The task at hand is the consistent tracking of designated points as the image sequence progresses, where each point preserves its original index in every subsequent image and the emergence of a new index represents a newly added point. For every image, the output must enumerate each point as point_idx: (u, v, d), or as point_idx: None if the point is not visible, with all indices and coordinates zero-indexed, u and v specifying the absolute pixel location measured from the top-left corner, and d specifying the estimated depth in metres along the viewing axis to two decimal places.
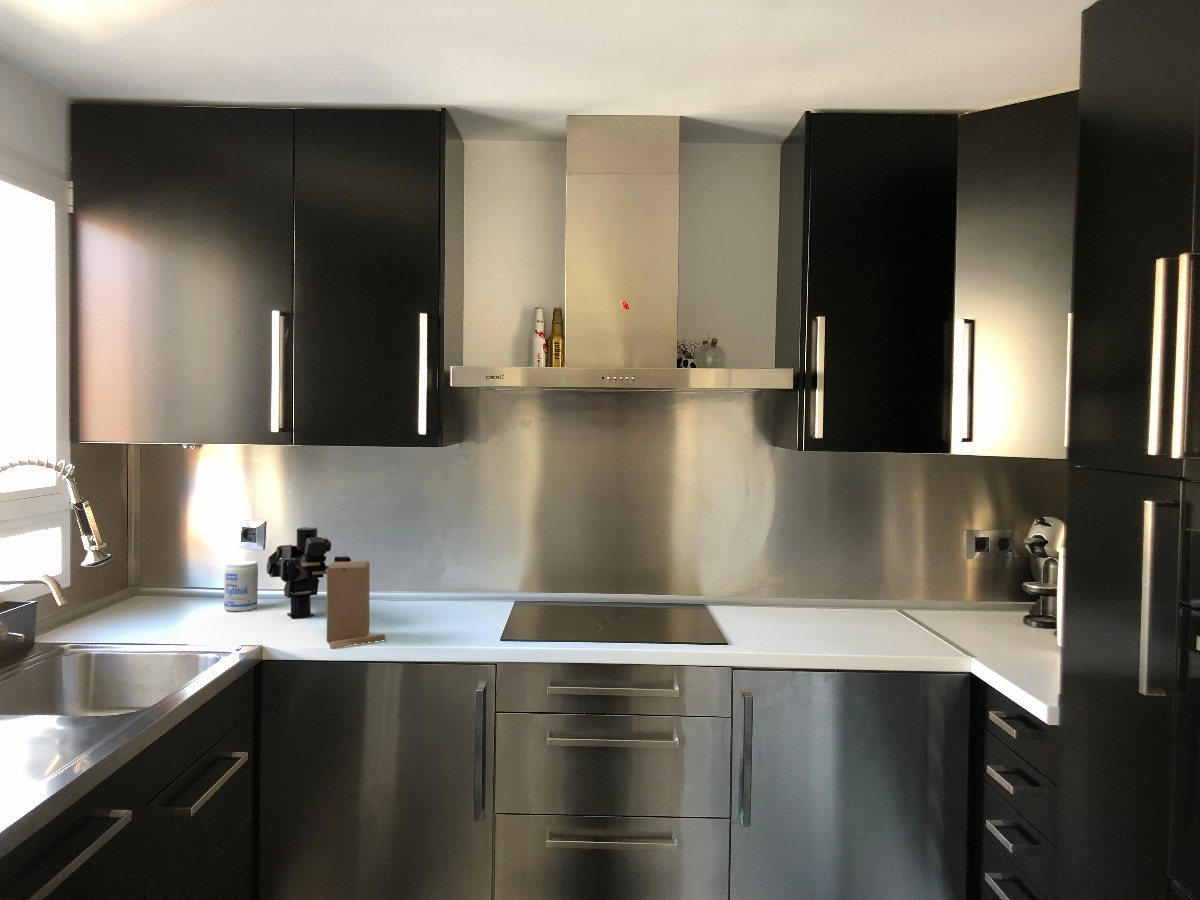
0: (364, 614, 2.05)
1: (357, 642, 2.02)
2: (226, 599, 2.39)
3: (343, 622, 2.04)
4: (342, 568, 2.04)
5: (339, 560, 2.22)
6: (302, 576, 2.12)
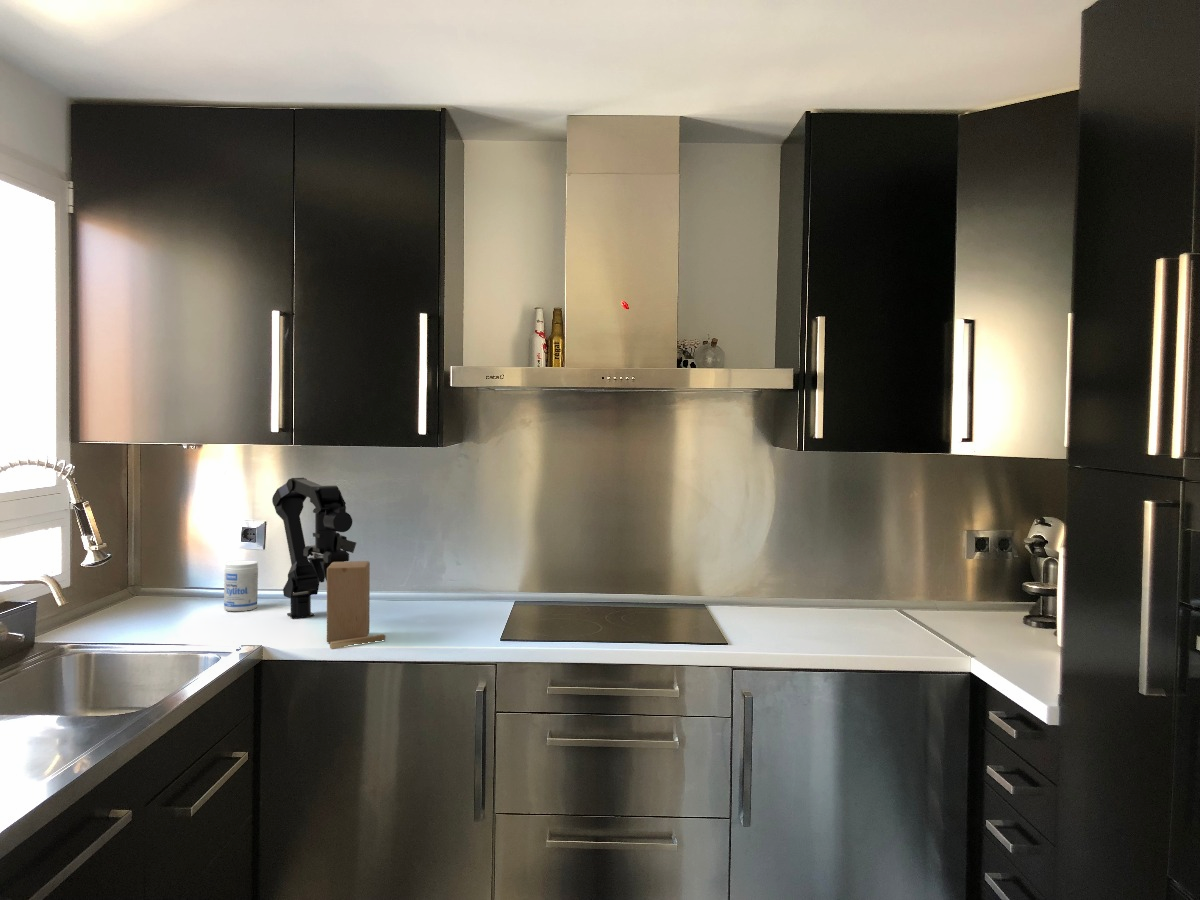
0: (364, 614, 2.05)
1: (357, 642, 2.02)
2: (226, 599, 2.39)
3: (343, 622, 2.04)
4: (342, 568, 2.04)
5: None
6: None
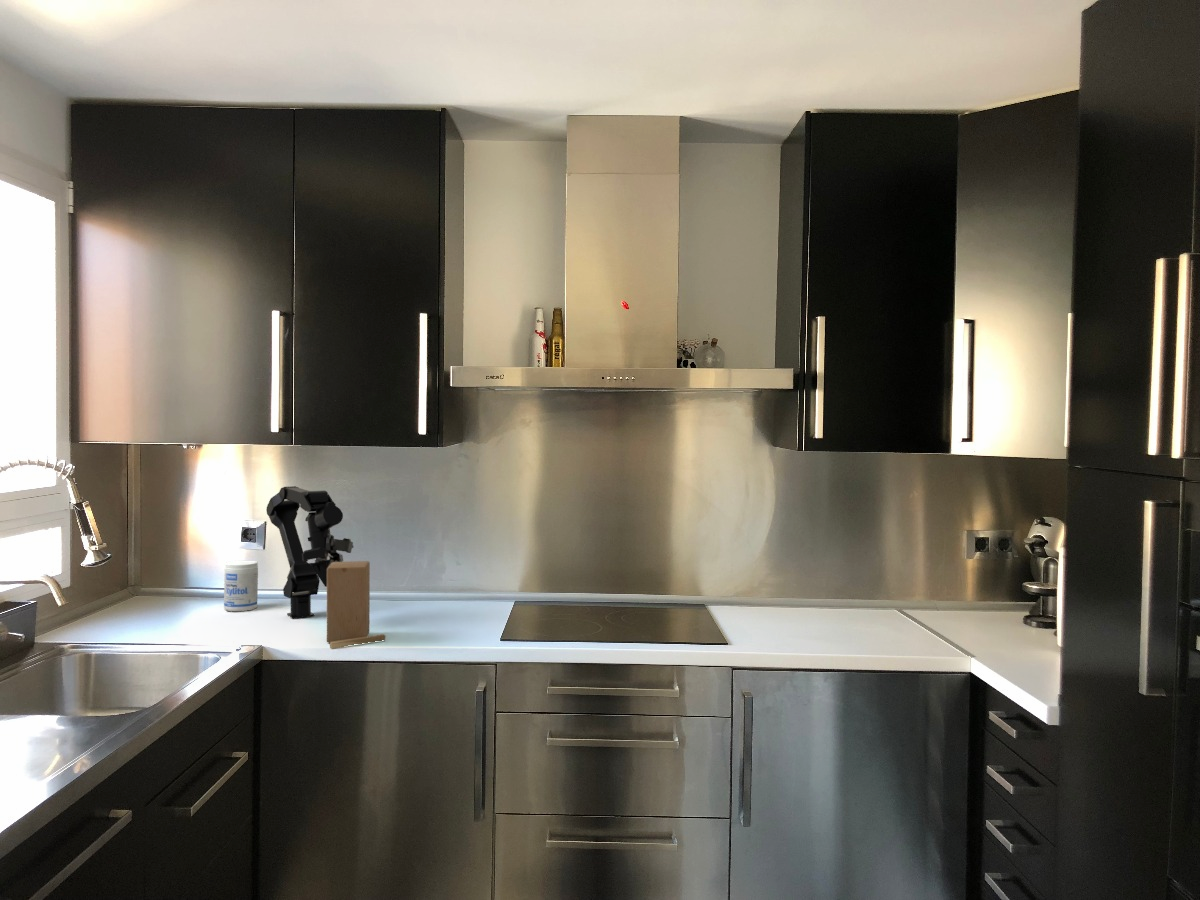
0: (364, 614, 2.05)
1: (357, 642, 2.02)
2: (226, 599, 2.39)
3: (343, 622, 2.04)
4: (342, 568, 2.04)
5: None
6: (322, 579, 2.21)
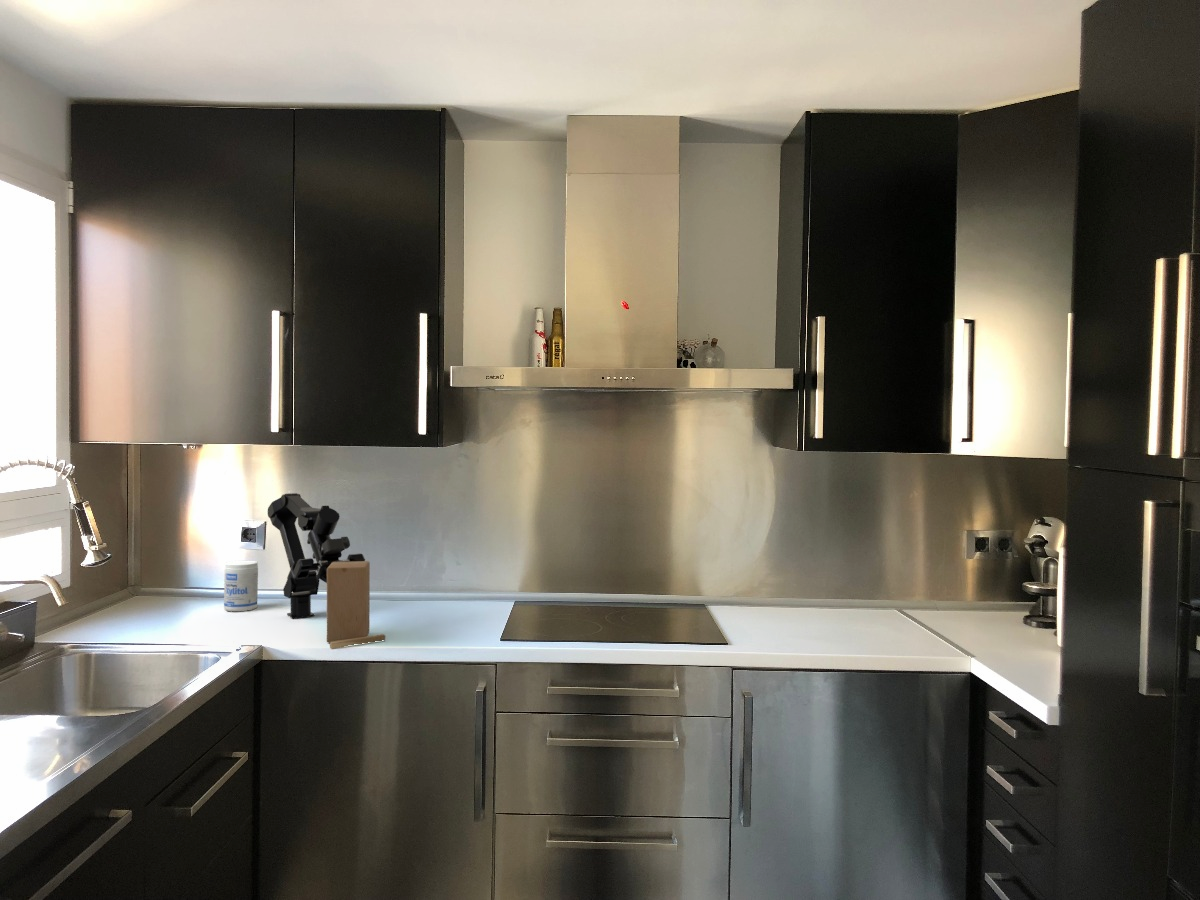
0: (364, 614, 2.05)
1: (357, 642, 2.02)
2: (226, 599, 2.39)
3: (343, 622, 2.04)
4: (342, 568, 2.04)
5: None
6: None
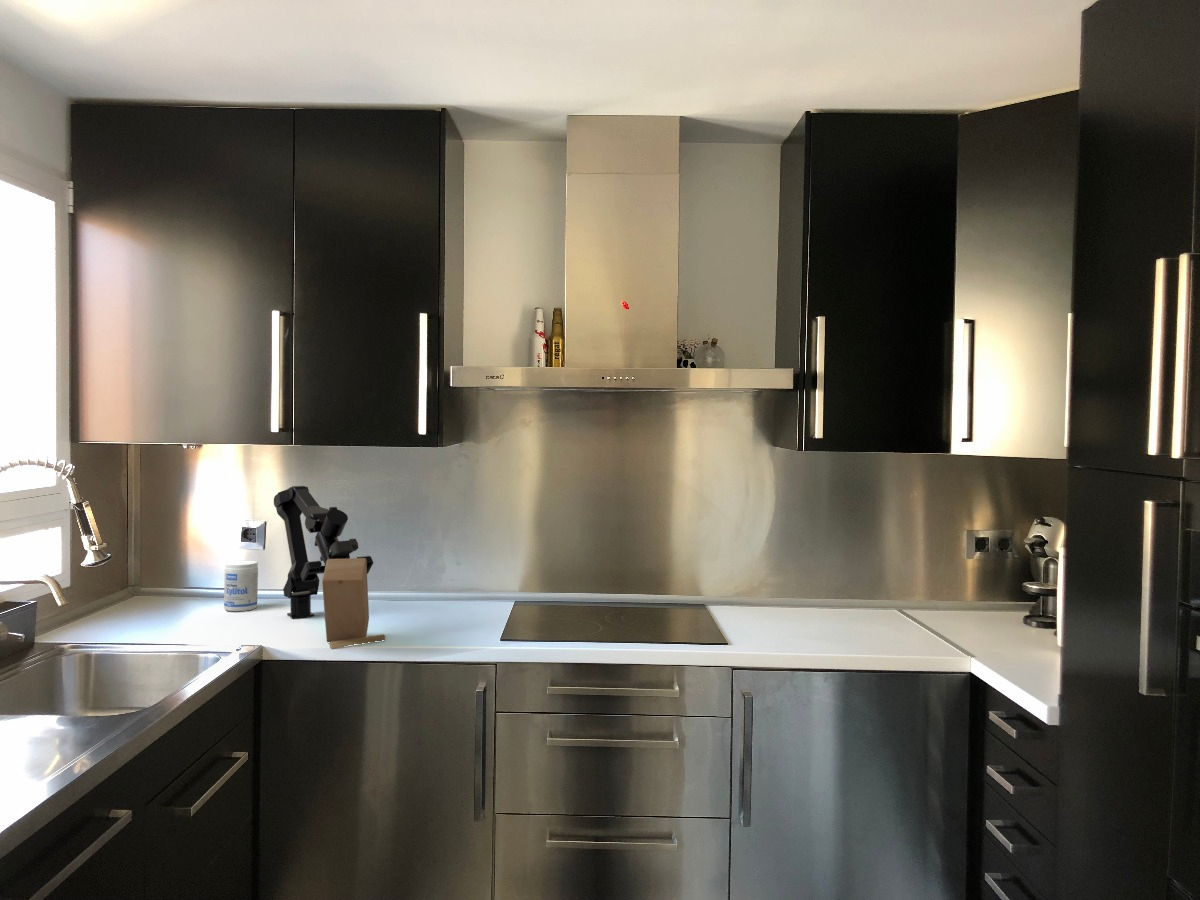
0: (363, 619, 2.02)
1: (357, 642, 2.02)
2: (226, 599, 2.39)
3: (342, 626, 2.02)
4: (338, 581, 1.96)
5: None
6: None
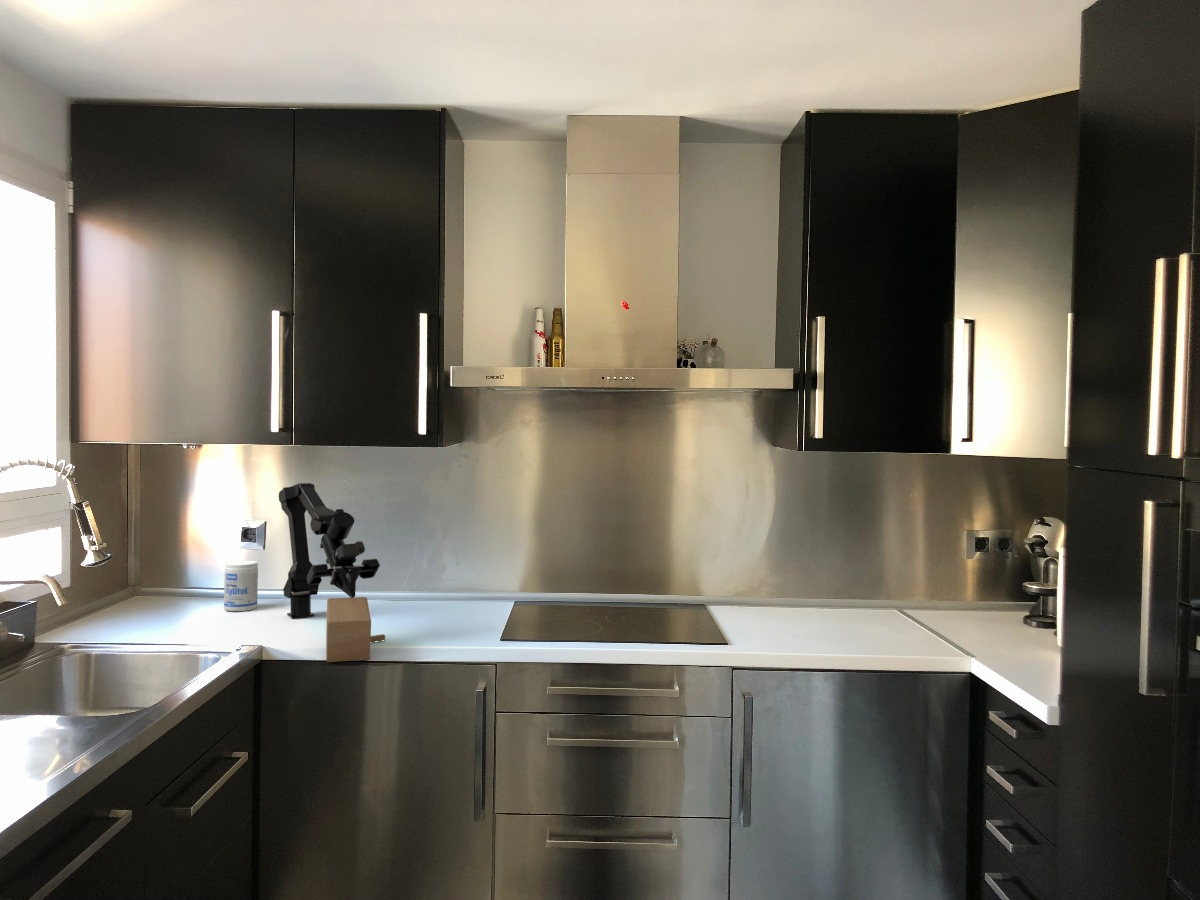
0: None
1: None
2: (226, 599, 2.39)
3: None
4: None
5: (353, 571, 2.09)
6: (346, 592, 2.07)
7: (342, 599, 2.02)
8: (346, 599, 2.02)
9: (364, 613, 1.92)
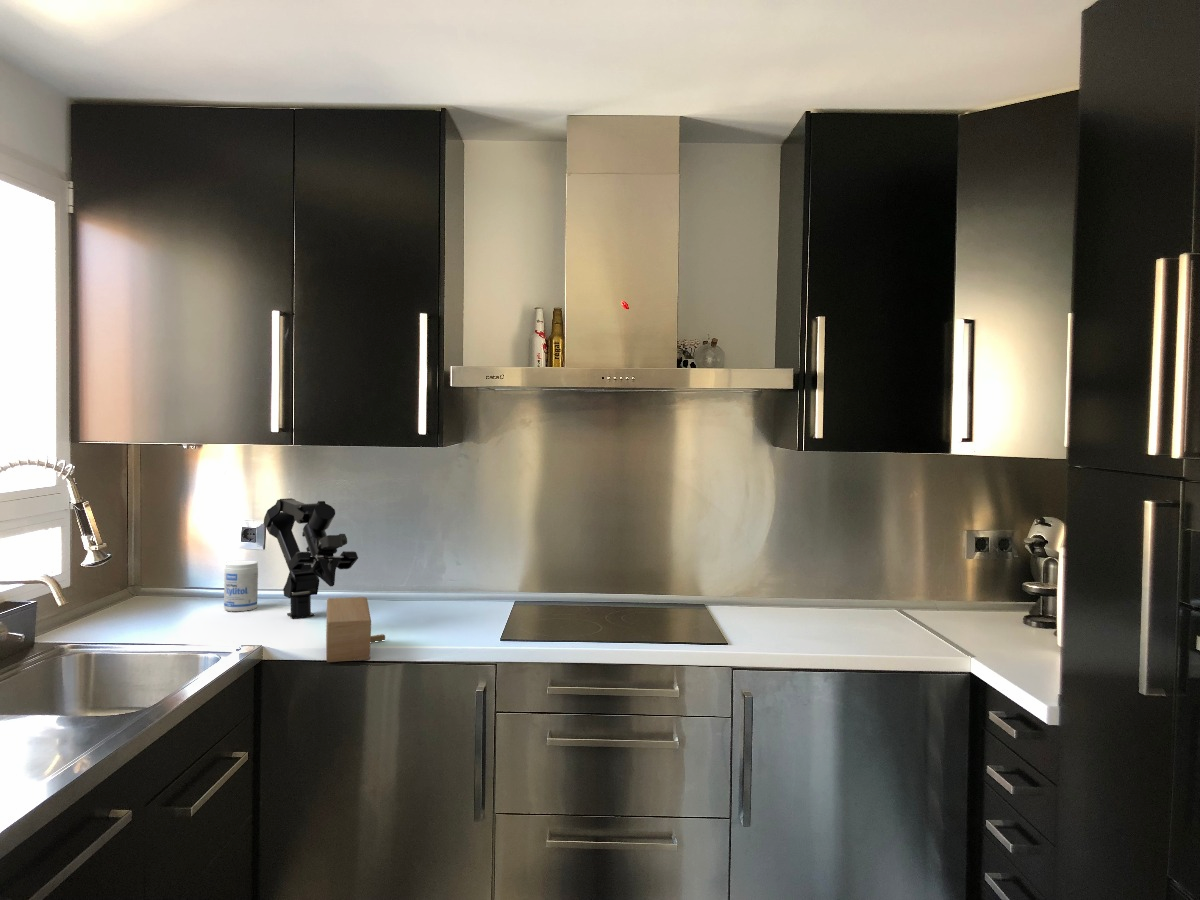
0: None
1: None
2: (226, 599, 2.39)
3: None
4: None
5: (334, 562, 2.20)
6: (325, 581, 2.18)
7: (342, 599, 2.02)
8: (346, 599, 2.02)
9: (364, 613, 1.92)
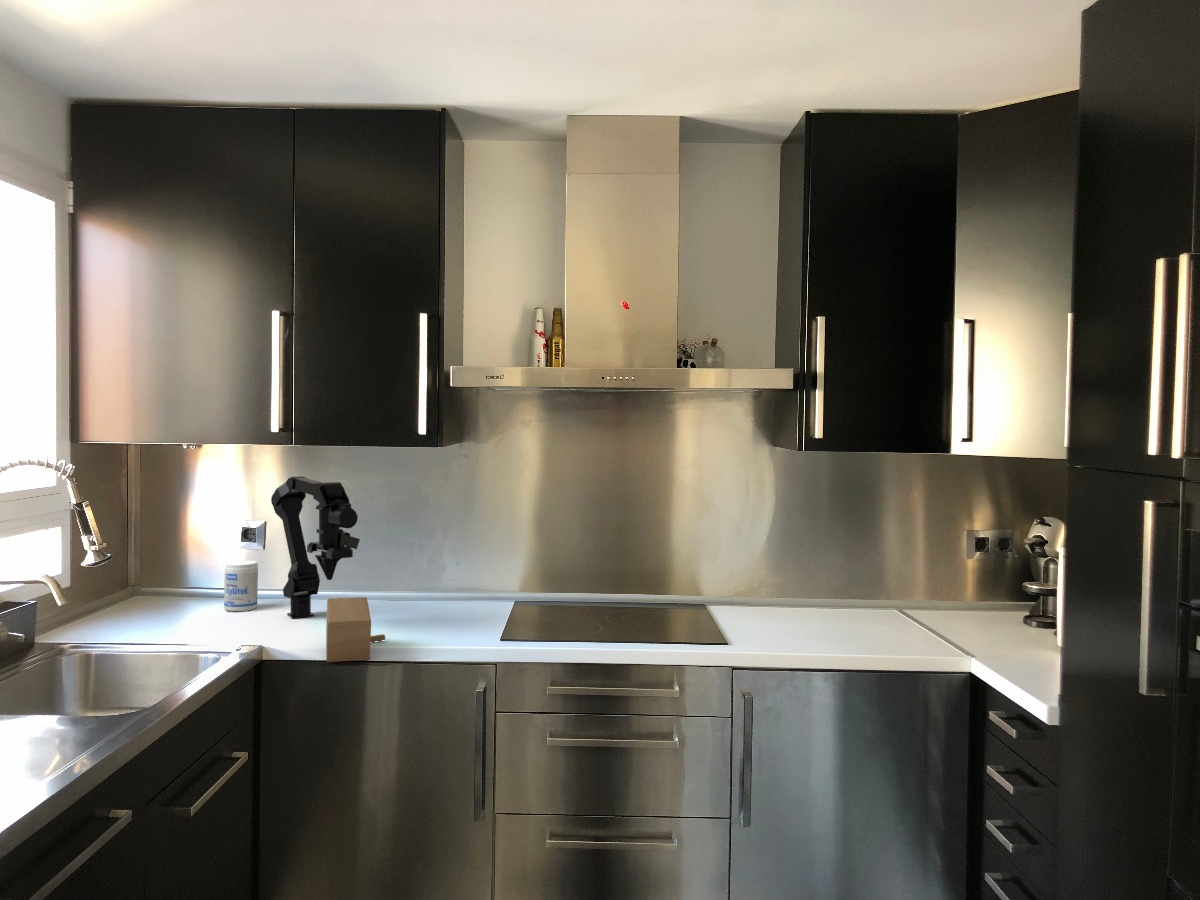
0: None
1: None
2: (226, 599, 2.39)
3: None
4: None
5: None
6: (328, 573, 2.22)
7: (342, 599, 2.02)
8: (346, 599, 2.02)
9: (364, 613, 1.92)
